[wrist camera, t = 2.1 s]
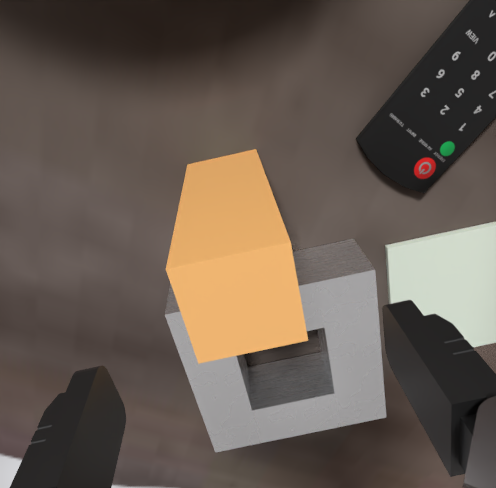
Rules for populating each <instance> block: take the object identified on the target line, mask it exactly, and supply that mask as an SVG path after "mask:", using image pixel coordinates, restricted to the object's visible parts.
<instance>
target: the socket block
mask: <svg viewBox="0 0 496 488" xmlns="http://www.w3.org/2000/svg"><path fill="white" fill-rule="evenodd" d="M293 258H294V264H295V269H296V275H297V280H298V286H299V291H300V297H301V303H302V308H303V314H304V319H305V325H306V331H311V330H315V329H317V333H318V339H319V345H320V351H321V352H318V353H313V354H308V355H304V356H299V357H294V358H289V359H284V360H280V361H275V362H270V363H265V364H261V365H256V366H251V367H248V366H247V363H246V359H245V356H244V354H242V355H237V356H233V357H228V358H223V359H218V360H214V361H209V362H204V363H199V364H198V361H197V358H196V355H195V352H194V349H193V346H192V344H191V341H190V338H189V335H188V332H187V329H186V326H185V323H184V320H183V317H182V315H181V312H180V309H179V306H178V303H177V300H176V297H175V294H174V291H173V288H172V286H171V283H170V289H169V294H168V300H167V306H166V311H165V317H166V319H167V322H168V325H169V327H170V330H171V333H172V336H173V338H174V341H175V344H176V346H177V349H178V352H179V355H180V357H181V360H182V363H183V365H184V368H185V371H186V374H187V376H188V379H189V382H190V384H191V387H192V390H193V393H194V395H195V398H196V401H197V404H198V406H199V409H200V412H201V414H202V417H203V420H204V423H205V425H206V428H207V431H208V433H209V436H210V439H211V442H212V444H213V447H214V450H215V452H220V451H225V450H230V449H235V448H240V447H245V446H249V445H254V444H259V443H264V442H269V441H274V440H279V439H284V438H289V437H293V436H298V435H303V434H308V433H313V432H318V431H323V430H328V429H332V428H337V427H342V426H347V425H352V424H357V423H362V422H367V421H372V420H376V419H381V418H386V405H385V392H384V379H383V366H382V353H381V340H380V327H379V314H378V301H377V288H376V275H375V269H374V267H373V266H372V264H371V263H370V262H369V260H368V259H367V257H366V256H365V254H364V253H363V251H362V250H361V249H360V247H359V246H358V244H357V243H356V241H355V240H354V238H353V239H349V240H344V241H339V242H335V243H330V244H326V245H321V246H316V247H312V248H307V249H303V250H298V251H293Z"/></svg>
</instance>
